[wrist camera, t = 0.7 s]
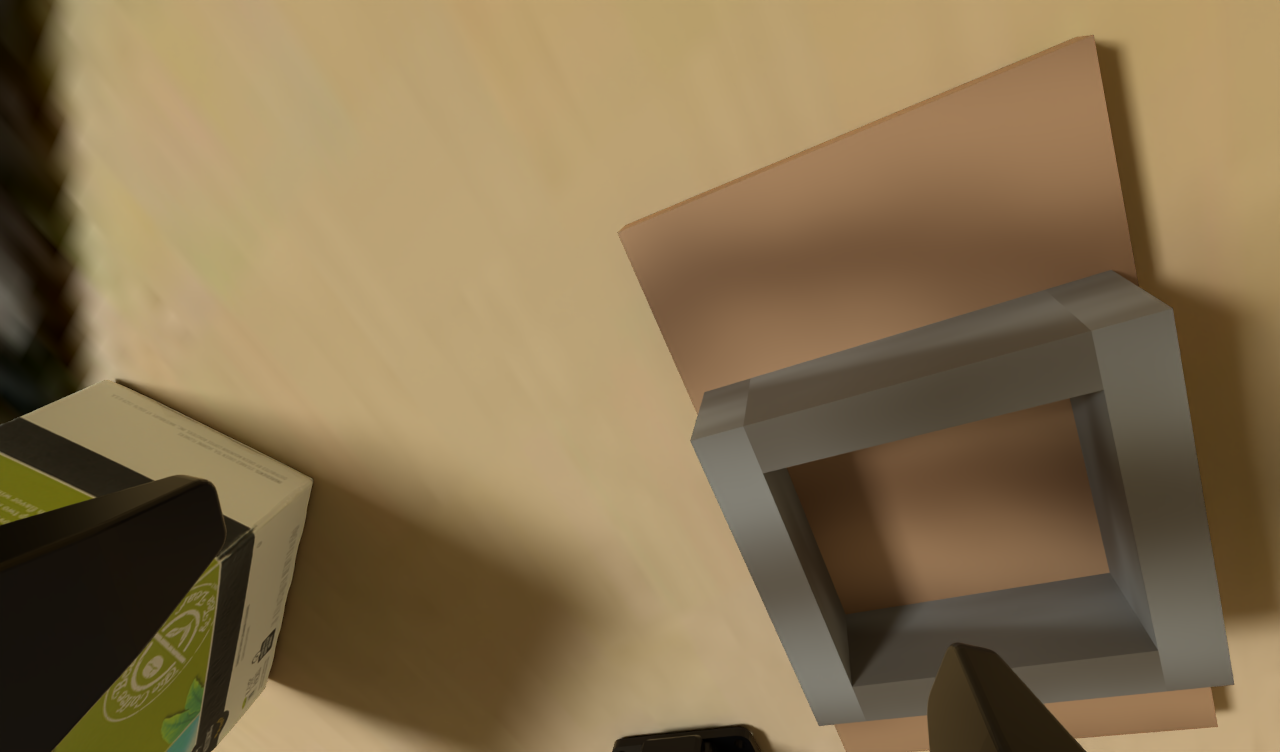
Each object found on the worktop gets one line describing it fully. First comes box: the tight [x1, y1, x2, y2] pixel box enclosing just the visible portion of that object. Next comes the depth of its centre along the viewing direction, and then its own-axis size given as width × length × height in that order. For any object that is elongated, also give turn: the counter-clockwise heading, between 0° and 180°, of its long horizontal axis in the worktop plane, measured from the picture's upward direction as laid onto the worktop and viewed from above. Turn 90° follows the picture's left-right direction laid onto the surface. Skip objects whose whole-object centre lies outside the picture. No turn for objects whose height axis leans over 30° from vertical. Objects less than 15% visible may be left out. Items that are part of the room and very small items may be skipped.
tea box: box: [0, 380, 313, 752], centre depth 24 cm, size 15×10×15 cm
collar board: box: [618, 35, 1234, 752], centre depth 19 cm, size 22×12×4 cm, turn 24°
